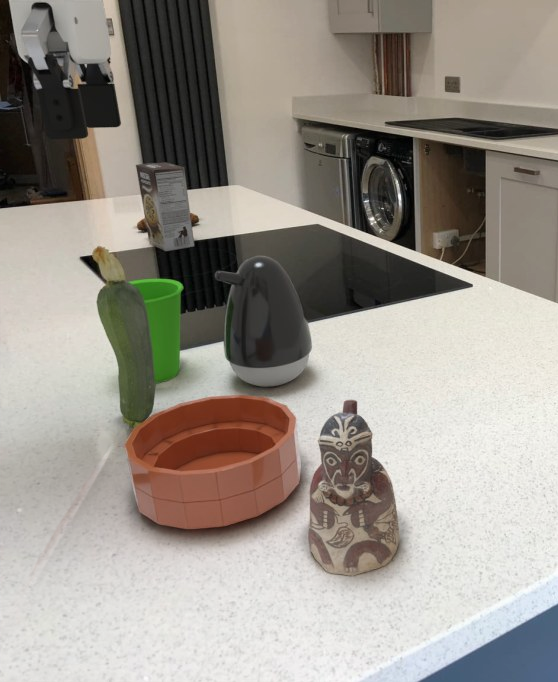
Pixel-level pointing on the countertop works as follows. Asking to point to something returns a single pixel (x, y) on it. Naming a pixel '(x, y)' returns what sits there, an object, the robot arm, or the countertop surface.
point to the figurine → (351, 500)
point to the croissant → (142, 226)
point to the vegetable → (127, 338)
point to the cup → (163, 324)
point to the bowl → (214, 461)
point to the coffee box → (165, 205)
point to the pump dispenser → (264, 324)
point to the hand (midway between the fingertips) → (87, 132)
